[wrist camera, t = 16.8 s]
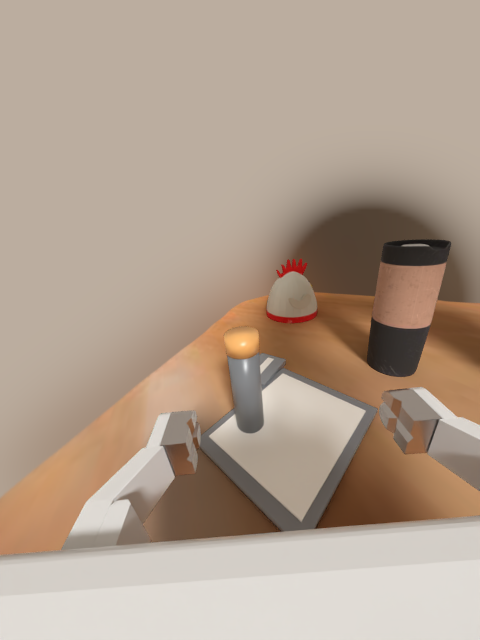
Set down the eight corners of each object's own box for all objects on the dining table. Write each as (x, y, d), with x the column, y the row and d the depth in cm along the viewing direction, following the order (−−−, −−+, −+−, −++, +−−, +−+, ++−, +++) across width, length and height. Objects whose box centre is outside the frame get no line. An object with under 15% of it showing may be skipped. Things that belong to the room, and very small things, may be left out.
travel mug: (369, 348, 44) (386, 240, 36) (418, 359, 39) (450, 238, 31) (361, 369, 38) (379, 247, 30) (417, 384, 34) (455, 245, 26)
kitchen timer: (326, 318, 58) (330, 259, 52) (275, 326, 57) (273, 266, 51) (303, 302, 71) (305, 253, 65) (261, 308, 69) (258, 258, 64)
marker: (249, 406, 32) (240, 323, 27) (270, 420, 29) (265, 331, 24) (230, 423, 30) (216, 336, 24) (251, 439, 27) (241, 346, 22)
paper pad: (283, 370, 40) (283, 366, 40) (377, 411, 30) (377, 407, 30) (195, 443, 28) (194, 439, 28) (302, 553, 18) (302, 548, 18)
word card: (262, 357, 44) (261, 352, 44) (285, 363, 42) (285, 358, 41) (239, 380, 39) (238, 375, 38) (264, 389, 36) (264, 384, 35)
